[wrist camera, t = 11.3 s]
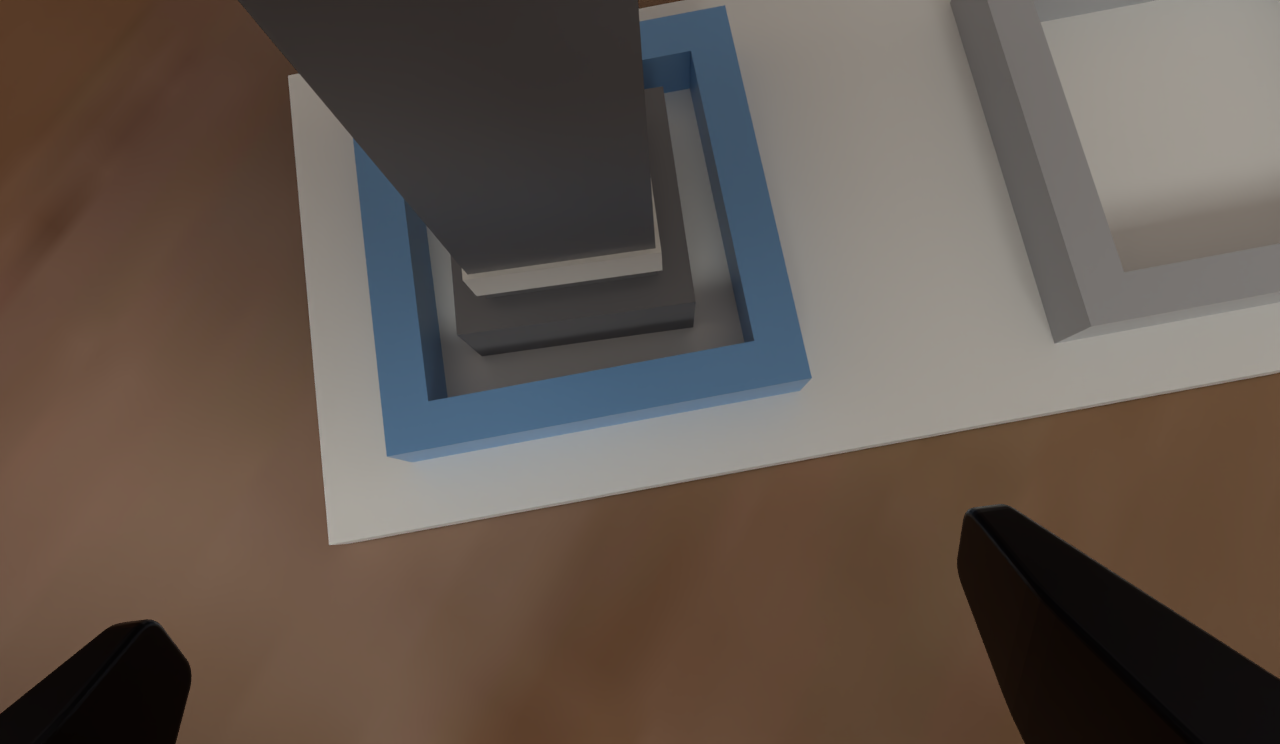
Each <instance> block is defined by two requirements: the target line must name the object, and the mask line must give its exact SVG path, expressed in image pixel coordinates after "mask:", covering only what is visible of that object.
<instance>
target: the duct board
mask: <svg viewBox="0 0 1280 744" xmlns="http://www.w3.org/2000/svg"><path fill="white" fill-rule="evenodd" d="M639 21H640V35H641V50H642V64H643V78H644V89H648V88H655V87H662V86H663V90H664V97H665V103H666V110H667V116H668V123H669V130H670V136H671V143H672V149H673V156H674V163H675V169H676V176H677V182H678V189H679V196H680V202H681V209H682V215H683V222H684V229H685V235H686V242H687V248H688V255H689V262H690V268H691V275H692V281H693V288H694V294H695V301H696V303H695V314H694V325H693V327H691V328H684V329H676V330H669V331H662V332H655V333H647V334H640V335H633V336H626V337H618V338H611V339H604V340H597V341H589V342H582V343H575V344H568V345H560V346H553V347H546V348H538V349H531V350H524V351H517V352H509V353H502V354H495V355H488V356H481V355H480V354H478V353H477V352H476V351H475V350H474V349H473V348H472V347H470V346H469V345H468V344H467V343H466V342H465V341H463V340H462V339H461V338H460V337H459V336H458V335H457V330H456V317H455V305H454V293H453V280H452V268H451V255H450V253H449V252H448V251H447V250H446V248H445V247H444V246H443V245H442V244H441V242H440V241H439V240H438V239H437V238H436V236H435V235H434V234H433V233H432V232H431V230H430V229H429V228H428V227H427V226H426V224H425V223H424V222H423V221H422V220H421V218H420V217H419V216H418V215H417V214H416V213H415V211H414V210H413V209H412V208H411V207H410V205H409V204H408V203H407V202H406V201H405V199H404V198H403V197H402V196H401V195H400V193H399V192H398V191H397V190H396V189H395V187H394V186H393V185H392V184H391V183H390V181H389V180H388V179H387V178H386V177H385V175H384V174H383V173H382V172H381V171H380V169H379V168H378V167H377V166H376V165H375V164H374V162H373V161H372V160H371V159H370V158H369V156H368V155H367V154H366V153H365V152H364V150H363V149H362V148H361V147H360V146H359V144H358V143H357V142H356V141H355V140H354V138H353V137H352V136H351V135H350V134H349V132H348V131H347V130H346V129H345V128H344V126H343V125H342V124H341V123H340V122H339V120H338V119H337V118H336V117H335V116H334V114H333V113H332V112H331V111H330V110H329V109H328V107H327V106H326V105H325V104H324V103H323V101H322V100H321V99H320V98H319V97H318V95H317V94H316V93H315V92H314V91H313V89H312V88H311V87H310V86H309V85H308V83H307V82H306V81H305V80H304V79H303V77H302V76H301V75H300V74H293V75H288V82H289V93H290V104H291V116H292V127H293V138H294V150H295V161H296V173H297V184H298V195H299V207H300V218H301V230H302V241H303V252H304V264H305V275H306V287H307V298H308V309H309V321H310V332H311V344H312V355H313V366H314V378H315V389H316V400H317V412H318V423H319V435H320V446H321V457H322V469H323V480H324V492H325V503H326V514H327V526H328V537H329V545H337V544H350V543H355V542H361V541H366V540H372V539H377V538H383V537H388V536H394V535H399V534H404V533H410V532H415V531H421V530H426V529H432V528H437V527H443V526H448V525H453V524H459V523H464V522H470V521H475V520H481V519H486V518H492V517H497V516H502V515H508V514H513V513H519V512H524V511H530V510H535V509H541V508H546V507H551V506H557V505H562V504H568V503H573V502H579V501H584V500H590V499H595V498H600V497H606V496H611V495H617V494H622V493H628V492H633V491H639V490H644V489H649V488H655V487H660V486H666V485H671V484H677V483H682V482H688V481H693V480H698V479H704V478H709V477H715V476H720V475H726V474H731V473H737V472H742V471H747V470H753V469H758V468H764V467H769V466H775V465H780V464H786V463H791V462H796V461H802V460H807V459H813V458H818V457H824V456H829V455H835V454H840V453H845V452H851V451H856V450H862V449H867V448H873V447H878V446H883V445H889V444H894V443H900V442H905V441H911V440H916V439H922V438H927V437H932V436H938V435H943V434H949V433H954V432H960V431H965V430H971V429H976V428H981V427H987V426H992V425H998V424H1003V423H1009V422H1014V421H1020V420H1025V419H1030V418H1036V417H1041V416H1047V415H1052V414H1058V413H1063V412H1069V411H1074V410H1079V409H1085V408H1090V407H1096V406H1101V405H1107V404H1112V403H1118V402H1123V401H1128V400H1134V399H1139V398H1145V397H1150V396H1156V395H1161V394H1167V393H1172V392H1177V391H1183V390H1188V389H1194V388H1199V387H1205V386H1210V385H1216V384H1221V383H1226V382H1232V381H1237V380H1243V379H1248V378H1254V377H1259V376H1265V375H1270V374H1275V373H1280V0H683V1H677V2H672V3H667V4H662V5H656V6H651V7H646V8H641V9H639Z"/></svg>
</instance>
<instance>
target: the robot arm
mask: <svg viewBox="0 0 1280 744" xmlns="http://www.w3.org/2000/svg"><path fill="white" fill-rule="evenodd" d="M957 568H958V574H959V578H960V582H961V584H962V587H963V590H964V592H965V595H966V598H967V600H968V603H969V606H970V608H971V611H972V614H973V616H974V619H975V622H976V624H977V627H978V630H979V632H980V635H981V637H982V640H983V643H984V645H985V648H986V651H987V653H988V656H989V659H990V661H991V664H992V667H993V669H994V672H995V675H996V677H997V680H998V683H999V685H1000V688H1001V691H1002V693H1003V696H1004V698H1005V701H1006V703H1007V706H1008V708H1009V710H1010V713H1011V715H1012V717H1013V720H1014V722H1015V724H1016V726H1017V728H1018V730H1019V732H1020V734H1021V736H1022V739H1023V741H1024V742H1025V744H1280V679H1279V678H1277V677H1276V676H1274V675H1272V674H1271V673H1269V672H1268V671H1266V670H1265V669H1263V668H1262V667H1260V666H1258V665H1257V664H1255V663H1254V662H1252V661H1251V660H1249V659H1248V658H1246V657H1244V656H1243V655H1241V654H1240V653H1238V652H1237V651H1235V650H1233V649H1232V648H1230V647H1229V646H1227V645H1226V644H1224V643H1223V642H1221V641H1220V640H1218V639H1216V638H1215V637H1213V636H1212V635H1210V634H1209V633H1207V632H1205V631H1204V630H1202V629H1201V628H1199V627H1198V626H1196V625H1195V624H1193V623H1191V622H1190V621H1188V620H1187V619H1185V618H1184V617H1182V616H1181V615H1179V614H1177V613H1176V612H1174V611H1173V610H1171V609H1170V608H1168V607H1167V606H1165V605H1163V604H1162V603H1160V602H1159V601H1157V600H1156V599H1154V598H1153V597H1151V596H1149V595H1148V594H1146V593H1145V592H1143V591H1142V590H1140V589H1139V588H1137V587H1135V586H1134V585H1132V584H1131V583H1129V582H1128V581H1126V580H1125V579H1123V578H1121V577H1120V576H1118V575H1117V574H1115V573H1114V572H1112V571H1111V570H1109V569H1107V568H1106V567H1104V566H1103V565H1101V564H1100V563H1098V562H1097V561H1095V560H1093V559H1092V558H1090V557H1089V556H1087V555H1086V554H1084V553H1083V552H1081V551H1079V550H1078V549H1076V548H1075V547H1073V546H1072V545H1070V544H1069V543H1067V542H1065V541H1064V540H1062V539H1061V538H1059V537H1058V536H1056V535H1055V534H1053V533H1051V532H1050V531H1048V530H1047V529H1045V528H1044V527H1042V526H1041V525H1039V524H1037V523H1036V522H1034V521H1033V520H1031V519H1030V518H1028V517H1027V516H1025V515H1023V514H1022V513H1020V512H1019V511H1017V510H1016V509H1014V508H1012V507H1010V506H1008V505H1004V504H997V505H989V506H982V507H975V508H971V509H969V510H968V511H967V512H966V513H965V515H964V519H963V525H962V531H961V538H960V544H959V551H958V557H957ZM190 685H191V668H190V665H189V662H188V661H187V659H186V658H185V657H184V655H183V654H182V653H181V651H180V650H179V649H178V647H177V646H176V645H175V643H174V642H173V641H172V639H171V638H170V637H169V635H168V634H167V633H166V631H165V630H164V629H163V627H162V626H161V625H160V624H159V623H158V622H156V621H153V620H148V619H146V620H139V621H131V622H124V623H118V624H115V625H112V626H110V627H109V628H107V629H106V630H104V631H103V632H102V633H101V634H99V635H98V636H97V637H96V638H94V639H93V640H92V641H91V642H89V643H88V644H87V645H86V646H84V647H83V648H82V649H81V650H79V651H78V652H77V653H76V654H74V655H73V656H72V657H71V658H69V659H68V660H67V661H66V662H64V663H63V664H62V665H61V666H59V667H58V668H57V669H56V670H54V671H53V672H52V673H51V674H49V675H48V676H47V677H46V678H44V679H43V680H42V681H41V682H40V683H38V684H37V685H36V686H35V687H33V688H32V689H31V690H30V691H28V692H27V693H26V694H25V695H23V696H22V697H21V698H20V699H18V700H17V701H16V702H15V703H13V704H12V705H11V706H10V707H8V708H7V709H6V710H5V711H3V712H2V713H1V714H0V744H176V740H177V736H178V732H179V728H180V724H181V721H182V717H183V713H184V709H185V705H186V701H187V697H188V694H189V690H190Z"/></svg>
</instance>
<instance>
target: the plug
mask: <svg viewBox="0 0 1280 744" xmlns="http://www.w3.org/2000/svg"><path fill="white" fill-rule="evenodd" d="M238 1H239V2H240V3H241V4H242V6H243V7H244V8H245V9H246V10H247V12H248V13H249V14H250V15H251V16H252V18H253V19H254V20H255V21H256V22H257V24H258V25H259V26H260V27H261V28H262V30H263V31H264V32H265V33H266V34H267V36H268V37H269V38H270V39H271V40H272V42H273V43H274V44H275V45H276V46H277V48H278V49H279V50H280V51H281V52H282V54H283V55H284V56H285V57H286V58H287V59H288V61H289V62H290V63H291V64H292V65H293V67H294V68H295V69H296V70H297V71H298V73H299V74H300V75H301V76H302V77H303V79H304V80H305V81H306V82H307V83H308V85H309V86H310V87H311V88H312V89H313V91H314V92H315V93H316V94H317V95H318V97H319V98H320V99H321V100H322V101H323V103H324V104H325V105H326V106H327V107H328V109H329V110H330V111H331V112H332V113H333V114H334V116H335V117H336V118H337V119H338V120H339V122H340V123H341V124H342V125H343V126H344V128H345V129H346V130H347V131H348V132H349V134H350V135H351V136H352V137H353V138H354V140H355V141H356V142H357V143H358V144H359V146H360V147H361V148H362V149H363V150H364V152H365V153H366V154H367V155H368V156H369V158H370V159H371V160H372V161H373V162H374V164H375V165H376V166H377V167H378V168H379V169H380V171H381V172H382V173H383V174H384V175H385V177H386V178H387V179H388V180H389V181H390V183H391V184H392V185H393V186H394V187H395V189H396V190H397V191H398V192H399V193H400V195H401V196H402V197H403V198H404V199H405V201H406V202H407V203H408V204H409V205H410V207H411V208H412V209H413V210H414V211H415V213H416V214H417V215H418V216H419V217H420V218H421V220H422V221H423V222H424V223H425V224H426V226H427V227H428V228H429V229H430V230H431V232H432V233H433V234H434V235H435V236H436V238H437V239H438V240H439V241H440V242H441V244H442V245H443V246H444V247H445V248H446V250H447V251H448V252H449V253H450V255H451V268H452V280H453V293H454V305H455V317H456V330H457V335H458V336H459V337H460V338H461V339H462V340H463V341H465V342H466V343H467V344H468V345H469V346H470V347H472V348H473V349H474V350H475V351H476V352H477V353H478V354H480V355H481V356H488V355H495V354H502V353H509V352H517V351H524V350H531V349H538V348H546V347H553V346H560V345H568V344H575V343H582V342H589V341H597V340H604V339H611V338H618V337H626V336H633V335H640V334H647V333H655V332H662V331H669V330H676V329H684V328H691V327H693V325H694V314H695V303H696V301H695V294H694V288H693V281H692V275H691V268H690V262H689V255H688V248H687V242H686V235H685V229H684V222H683V215H682V209H681V202H680V196H679V189H678V182H677V176H676V169H675V163H674V156H673V149H672V143H671V136H670V130H669V123H668V116H667V110H666V103H665V97H664V90H663V86H662V87H655V88H648V89H644V78H643V64H642V50H641V35H640V21H639V7H638V0H238Z"/></svg>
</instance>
